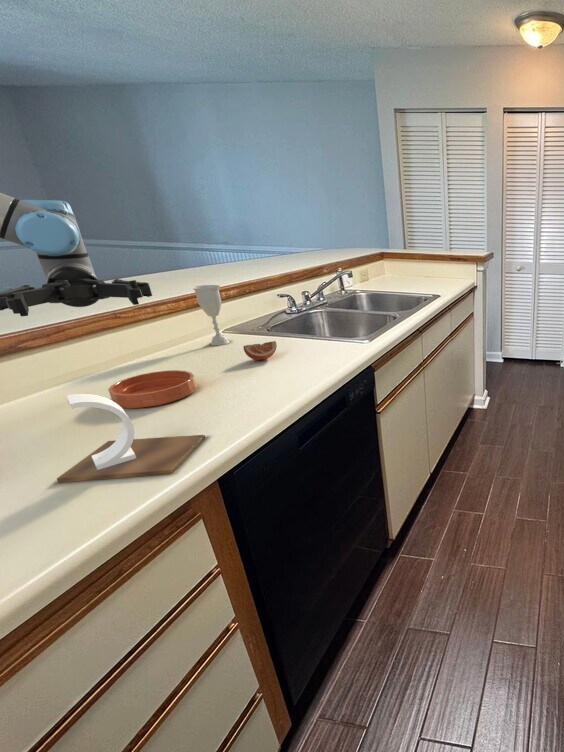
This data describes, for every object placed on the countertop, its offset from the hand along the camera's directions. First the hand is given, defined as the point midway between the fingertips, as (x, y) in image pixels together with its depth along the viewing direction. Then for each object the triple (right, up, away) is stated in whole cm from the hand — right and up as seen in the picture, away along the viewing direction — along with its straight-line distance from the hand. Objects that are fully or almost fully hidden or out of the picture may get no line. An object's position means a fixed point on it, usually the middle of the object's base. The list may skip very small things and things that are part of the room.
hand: (81, 302), depth 70 cm
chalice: (-23, -1, +66) cm, 70 cm away
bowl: (-11, -16, +28) cm, 34 cm away
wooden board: (+6, -27, +4) cm, 28 cm away
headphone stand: (+4, -27, +2) cm, 27 cm away
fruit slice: (0, -7, +52) cm, 53 cm away
